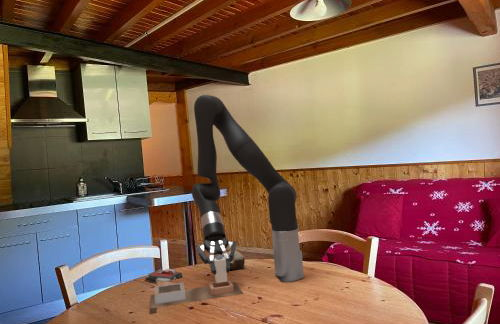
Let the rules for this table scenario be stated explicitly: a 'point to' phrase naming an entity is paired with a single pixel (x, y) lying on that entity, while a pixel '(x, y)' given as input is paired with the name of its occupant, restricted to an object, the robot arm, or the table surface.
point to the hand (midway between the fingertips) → (221, 272)
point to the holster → (221, 288)
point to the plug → (220, 269)
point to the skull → (237, 262)
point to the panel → (195, 296)
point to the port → (169, 293)
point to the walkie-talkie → (164, 276)
